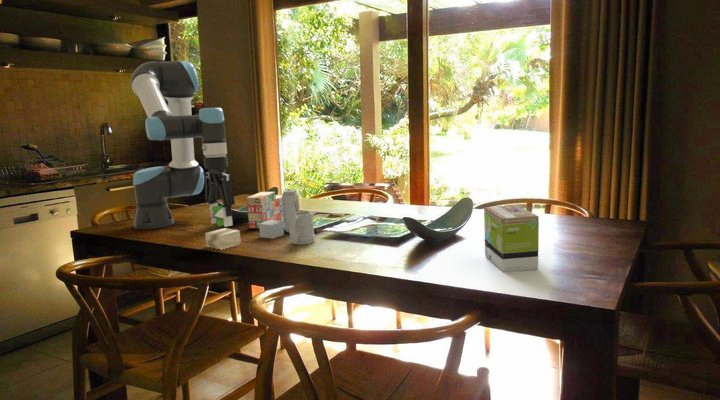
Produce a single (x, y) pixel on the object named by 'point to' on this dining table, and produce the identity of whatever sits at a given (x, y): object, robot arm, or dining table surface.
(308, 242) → the mug
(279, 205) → the stack of blocks
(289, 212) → the energy drink can
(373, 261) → the dining table surface
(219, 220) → the geometric puzzle
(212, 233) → the beech block
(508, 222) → the tea box
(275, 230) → the grey block
